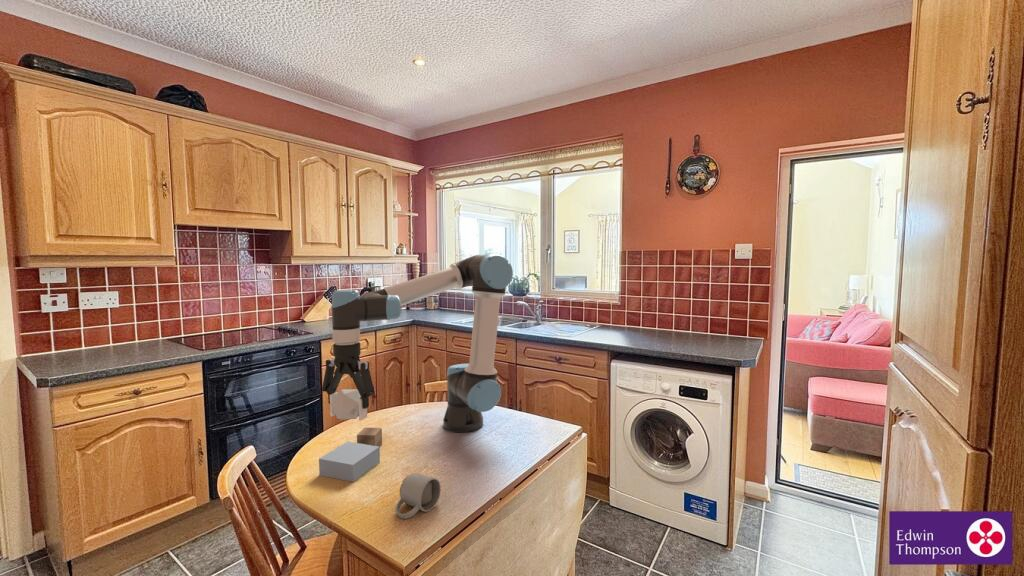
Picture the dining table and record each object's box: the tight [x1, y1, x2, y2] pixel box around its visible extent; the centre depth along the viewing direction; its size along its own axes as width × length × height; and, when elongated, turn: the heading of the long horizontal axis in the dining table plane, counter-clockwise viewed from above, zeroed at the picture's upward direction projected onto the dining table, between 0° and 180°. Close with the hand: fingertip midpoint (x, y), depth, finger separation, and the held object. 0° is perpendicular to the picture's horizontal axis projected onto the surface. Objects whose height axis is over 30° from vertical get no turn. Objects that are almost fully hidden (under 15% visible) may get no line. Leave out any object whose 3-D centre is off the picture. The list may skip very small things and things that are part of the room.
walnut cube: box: [356, 427, 383, 448], centre depth 137 cm, size 6×6×6 cm
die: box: [331, 388, 361, 420], centre depth 122 cm, size 8×9×10 cm
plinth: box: [318, 441, 381, 483], centre depth 123 cm, size 12×12×5 cm
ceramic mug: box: [395, 473, 442, 520], centre depth 104 cm, size 11×8×8 cm
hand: (348, 416), depth 123 cm, fingers closed on die, 10 cm apart
